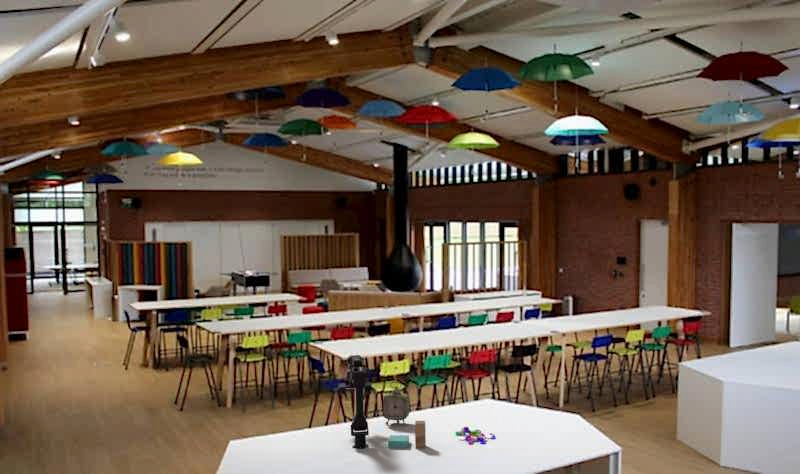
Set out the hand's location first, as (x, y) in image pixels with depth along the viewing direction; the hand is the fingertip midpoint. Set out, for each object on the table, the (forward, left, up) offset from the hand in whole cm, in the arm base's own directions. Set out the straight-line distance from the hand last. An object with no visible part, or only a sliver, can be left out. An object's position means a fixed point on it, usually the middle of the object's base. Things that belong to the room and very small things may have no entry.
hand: (355, 400), depth 388 cm
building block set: (+8, -69, -17) cm, 71 cm away
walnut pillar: (-18, -47, -16) cm, 52 cm away
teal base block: (-19, -35, -17) cm, 43 cm away
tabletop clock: (+16, -19, -17) cm, 30 cm away
